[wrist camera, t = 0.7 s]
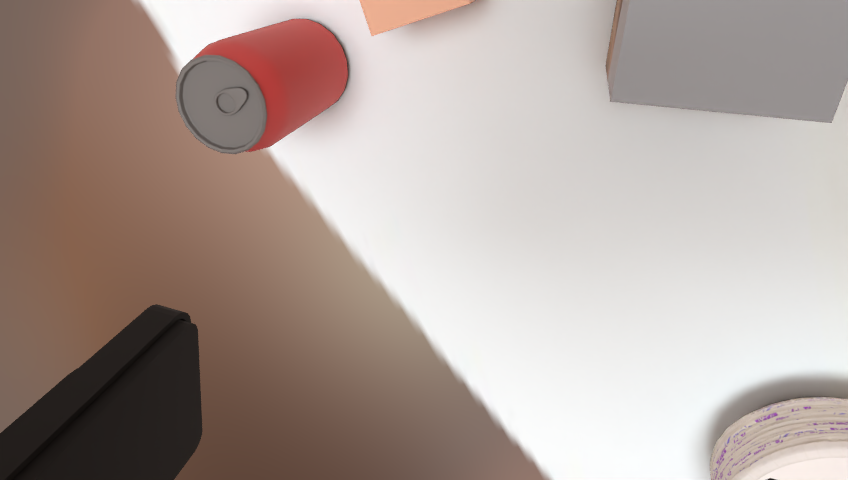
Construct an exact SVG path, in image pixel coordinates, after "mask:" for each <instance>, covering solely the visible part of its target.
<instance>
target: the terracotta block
mask: <svg viewBox="0 0 848 480" xmlns="http://www.w3.org/2000/svg"><path fill="white" fill-rule="evenodd" d="M474 1H475V0H360V3H361V6H362V9H363V12H364V15H365V18H366V21H367V24H368V27H369V30H370V33H371V35H372V36H374V35H377V34H380V33H383V32H386V31H389V30H392V29H395V28H398V27H401V26H404V25H407V24H410V23H413V22H416V21H419V20H422V19H425V18H428V17H431V16H434V15H437V14H440V13H443V12H446V11H449V10H452V9H455V8H458V7H461V6H464V5H467V4H470V3H472V2H474Z"/></svg>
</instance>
